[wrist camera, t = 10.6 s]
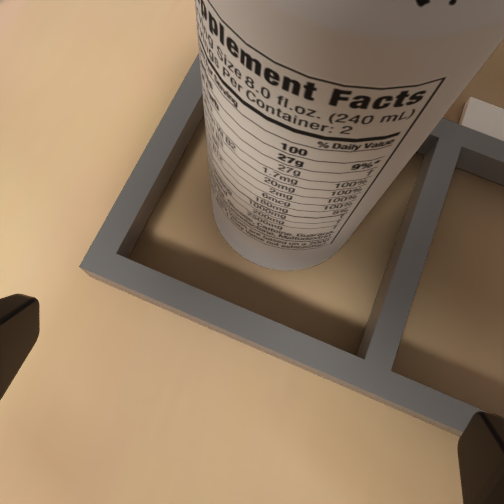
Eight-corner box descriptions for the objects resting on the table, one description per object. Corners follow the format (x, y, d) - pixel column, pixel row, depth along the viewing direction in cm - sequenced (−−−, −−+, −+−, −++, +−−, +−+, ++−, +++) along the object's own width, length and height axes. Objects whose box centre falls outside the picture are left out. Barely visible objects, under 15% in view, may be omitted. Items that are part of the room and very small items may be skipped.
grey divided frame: (694, 189, 21) (727, 174, 20) (651, 519, 17) (689, 530, 16) (233, 15, 23) (234, -10, 21) (90, 276, 19) (79, 266, 17)
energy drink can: (379, 207, 20) (746, -247, 6) (289, 306, 19) (487, 23, 4) (276, 122, 21) (378, -441, 7) (182, 211, 20) (64, -276, 5)
